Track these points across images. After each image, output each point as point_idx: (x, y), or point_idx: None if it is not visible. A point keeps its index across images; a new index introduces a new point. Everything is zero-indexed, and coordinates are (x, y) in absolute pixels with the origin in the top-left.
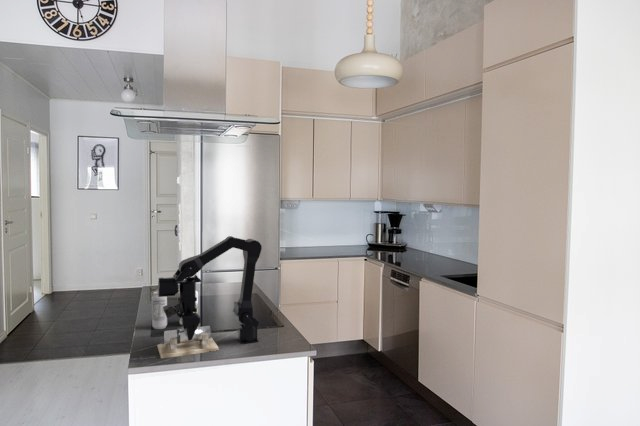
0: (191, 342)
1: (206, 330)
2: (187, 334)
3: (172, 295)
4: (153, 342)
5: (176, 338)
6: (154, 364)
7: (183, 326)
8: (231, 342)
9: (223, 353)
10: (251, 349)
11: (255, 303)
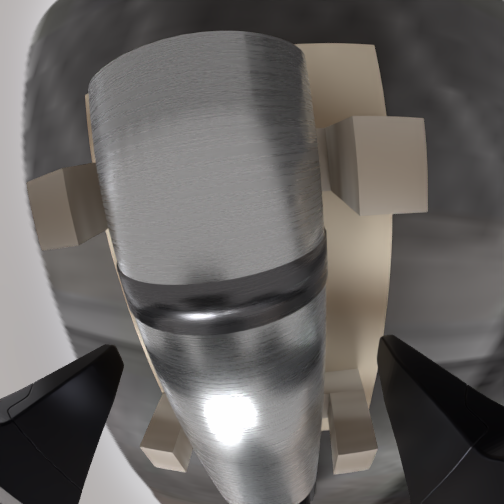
0: (328, 330)
1: (216, 486)
2: (52, 373)
3: None
4: (469, 52)
5: (44, 246)
6: (37, 85)
7: (412, 378)
8: None
9: (144, 420)
10: (182, 476)
11: None
